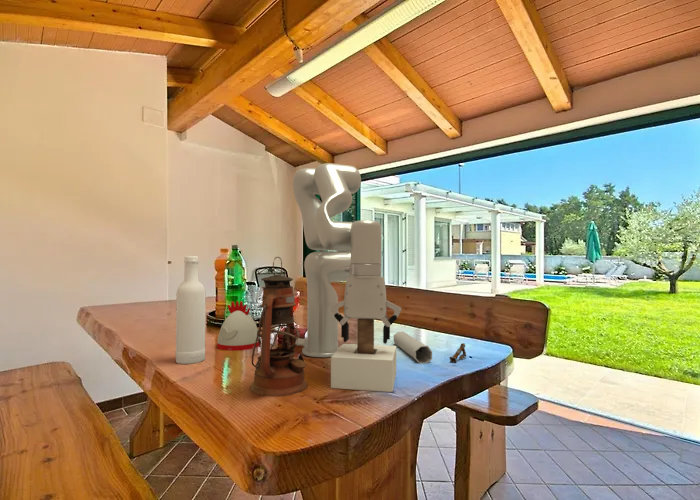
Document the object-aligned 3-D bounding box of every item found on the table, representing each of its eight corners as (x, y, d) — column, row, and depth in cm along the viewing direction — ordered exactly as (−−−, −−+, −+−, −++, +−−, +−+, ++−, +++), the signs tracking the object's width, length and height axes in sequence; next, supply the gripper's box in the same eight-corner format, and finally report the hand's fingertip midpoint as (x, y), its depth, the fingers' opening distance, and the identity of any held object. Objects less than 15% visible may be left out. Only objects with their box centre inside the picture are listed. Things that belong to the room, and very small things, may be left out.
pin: (356, 369, 92) (356, 319, 92) (358, 364, 96) (358, 316, 96) (372, 370, 92) (372, 319, 92) (374, 365, 96) (374, 317, 96)
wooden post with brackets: (469, 354, 116) (466, 341, 114) (458, 370, 110) (455, 357, 109) (463, 353, 117) (461, 340, 116) (452, 369, 111) (449, 356, 110)
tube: (389, 332, 134) (412, 349, 109) (403, 327, 134) (429, 342, 110) (393, 347, 134) (418, 367, 109) (408, 342, 134) (435, 360, 110)
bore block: (330, 387, 88) (331, 357, 88) (343, 370, 102) (343, 343, 102) (392, 392, 86) (392, 360, 86) (396, 373, 99) (396, 346, 100)
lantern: (290, 402, 80) (291, 256, 80) (234, 396, 83) (235, 256, 83) (318, 377, 96) (318, 256, 97) (270, 373, 99) (271, 256, 100)
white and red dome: (232, 340, 138) (232, 298, 139) (267, 342, 135) (267, 299, 135) (208, 349, 125) (208, 302, 125) (246, 352, 121) (246, 304, 122)
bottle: (170, 360, 111) (171, 256, 111) (197, 355, 117) (198, 256, 117) (182, 365, 106) (184, 256, 106) (210, 360, 111) (211, 256, 112)
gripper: (327, 271, 92) (327, 343, 92) (400, 272, 89) (400, 346, 89) (334, 270, 100) (334, 336, 99) (402, 271, 96) (402, 339, 96)
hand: (365, 341), depth 94 cm, fingers open, 9 cm apart
